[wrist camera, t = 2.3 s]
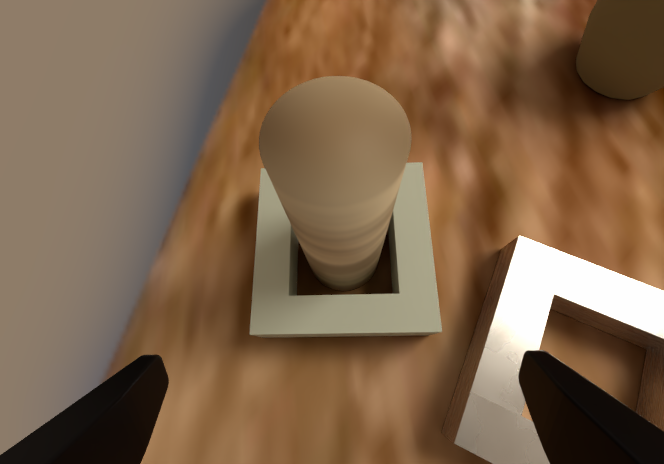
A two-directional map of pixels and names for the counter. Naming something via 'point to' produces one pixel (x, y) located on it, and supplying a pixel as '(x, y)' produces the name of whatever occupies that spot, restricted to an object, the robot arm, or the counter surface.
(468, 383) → the socket block
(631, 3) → the squeeze bottle
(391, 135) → the tan rounded peg
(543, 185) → the counter surface
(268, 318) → the collar
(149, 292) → the counter surface
